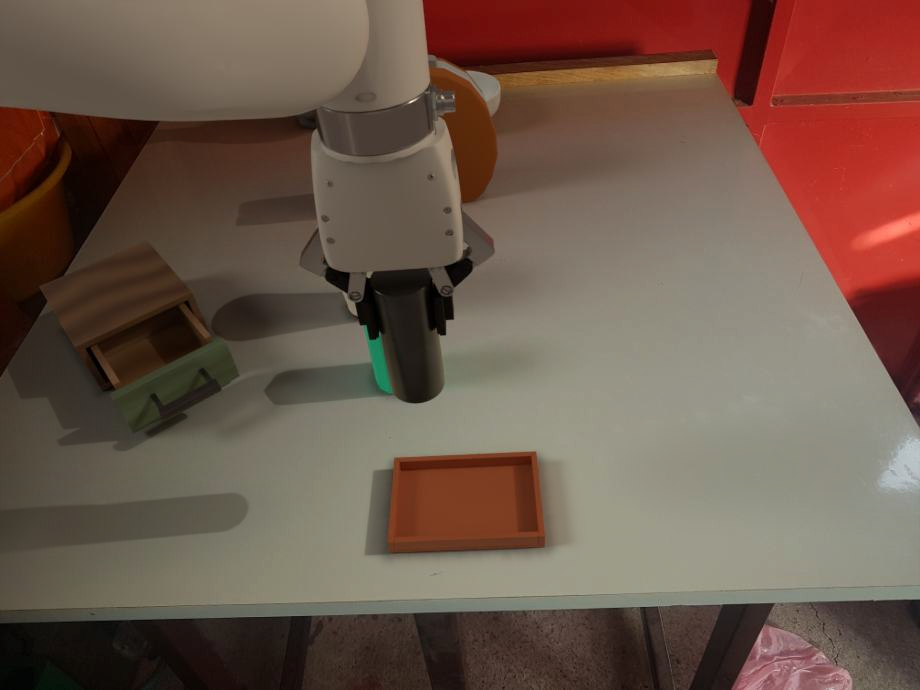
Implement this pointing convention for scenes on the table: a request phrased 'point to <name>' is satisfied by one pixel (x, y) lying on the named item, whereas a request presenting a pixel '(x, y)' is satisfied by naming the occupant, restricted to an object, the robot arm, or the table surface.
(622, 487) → the table surface
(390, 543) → the tray
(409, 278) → the cylinder
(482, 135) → the alarm clock
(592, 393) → the table surface
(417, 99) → the robot arm
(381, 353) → the candle
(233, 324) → the table surface
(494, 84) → the cereal bowl
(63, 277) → the cabinet
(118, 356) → the drawer
